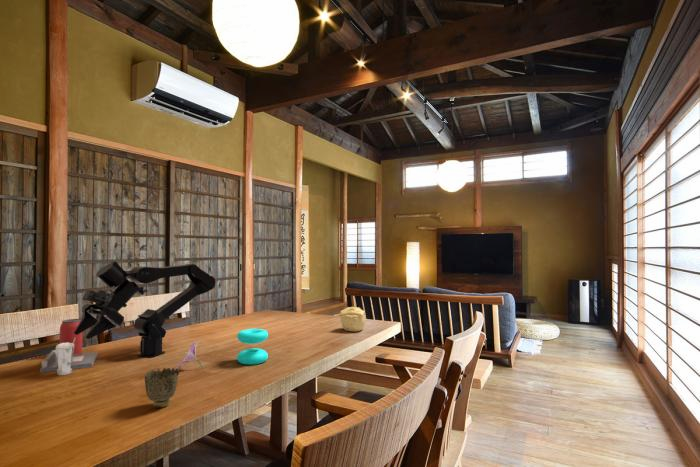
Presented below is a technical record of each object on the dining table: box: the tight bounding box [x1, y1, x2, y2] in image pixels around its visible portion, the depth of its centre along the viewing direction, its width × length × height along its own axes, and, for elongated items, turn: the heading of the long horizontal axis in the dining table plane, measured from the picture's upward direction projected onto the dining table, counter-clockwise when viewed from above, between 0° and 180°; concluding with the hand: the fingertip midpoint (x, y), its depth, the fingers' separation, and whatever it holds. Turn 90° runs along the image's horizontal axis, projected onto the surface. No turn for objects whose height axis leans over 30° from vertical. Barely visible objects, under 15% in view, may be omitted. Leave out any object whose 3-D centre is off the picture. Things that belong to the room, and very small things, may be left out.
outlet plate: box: [39, 349, 98, 374], centre depth 127 cm, size 13×15×3 cm
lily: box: [174, 337, 205, 370], centre depth 122 cm, size 12×12×10 cm
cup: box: [143, 367, 179, 409], centre depth 94 cm, size 8×7×8 cm
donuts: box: [236, 328, 269, 366], centre depth 131 cm, size 10×10×10 cm
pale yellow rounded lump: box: [339, 306, 367, 332], centre depth 180 cm, size 12×12×11 cm
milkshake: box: [55, 338, 76, 376], centre depth 118 cm, size 4×5×10 cm
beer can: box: [59, 318, 84, 354], centre depth 138 cm, size 7×7×12 cm
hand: (80, 336), depth 121 cm, fingers open, 9 cm apart
